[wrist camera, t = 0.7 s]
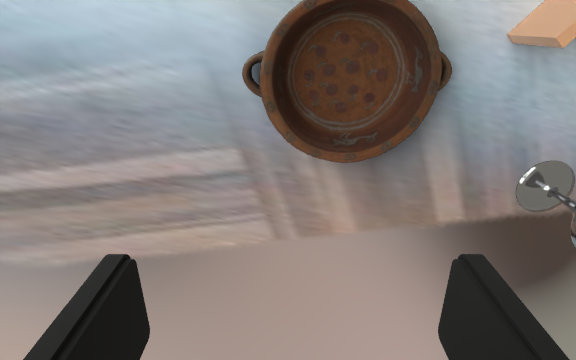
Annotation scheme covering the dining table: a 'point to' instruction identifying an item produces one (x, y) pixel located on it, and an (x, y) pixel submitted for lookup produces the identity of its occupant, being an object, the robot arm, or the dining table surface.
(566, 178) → the wine glass
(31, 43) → the dining table surface
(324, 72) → the dish
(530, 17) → the wooden picture frame
